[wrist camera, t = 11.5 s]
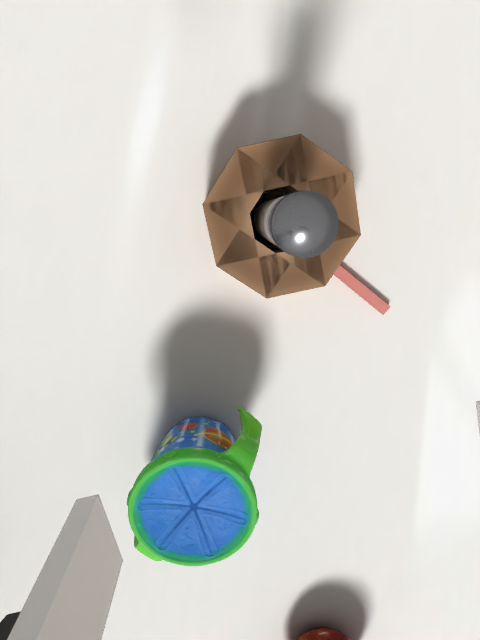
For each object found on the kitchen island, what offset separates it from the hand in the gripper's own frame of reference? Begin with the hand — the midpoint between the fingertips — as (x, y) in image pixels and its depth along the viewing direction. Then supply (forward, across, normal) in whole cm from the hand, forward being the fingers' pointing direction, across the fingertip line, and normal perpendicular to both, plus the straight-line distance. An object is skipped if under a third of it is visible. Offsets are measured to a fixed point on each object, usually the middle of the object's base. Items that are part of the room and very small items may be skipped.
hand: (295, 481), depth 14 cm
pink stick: (+27, +10, +2) cm, 29 cm away
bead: (+27, +5, +8) cm, 29 cm away
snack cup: (+28, -8, -13) cm, 31 cm away
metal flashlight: (+27, +5, +8) cm, 28 cm away
